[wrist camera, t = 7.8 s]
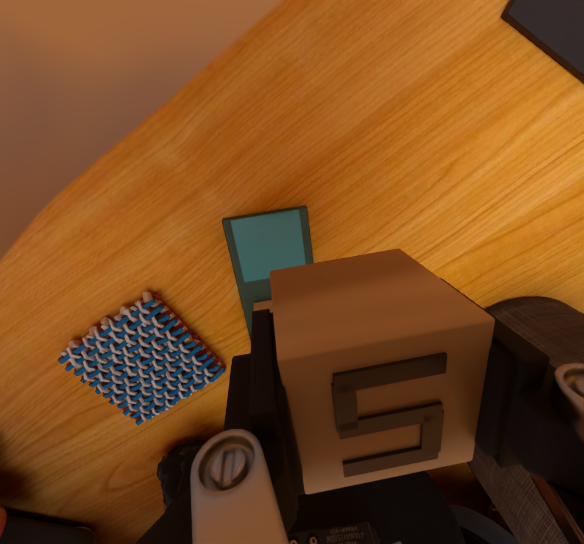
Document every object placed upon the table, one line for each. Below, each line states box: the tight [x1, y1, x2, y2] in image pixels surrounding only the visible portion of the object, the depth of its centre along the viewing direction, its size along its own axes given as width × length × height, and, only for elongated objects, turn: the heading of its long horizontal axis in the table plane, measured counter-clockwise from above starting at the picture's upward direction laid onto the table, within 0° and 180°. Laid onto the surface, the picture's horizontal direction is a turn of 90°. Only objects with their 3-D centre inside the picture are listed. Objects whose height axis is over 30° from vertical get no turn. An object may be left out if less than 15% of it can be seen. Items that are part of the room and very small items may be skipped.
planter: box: [467, 297, 584, 544], centre depth 25 cm, size 18×18×16 cm
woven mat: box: [58, 291, 226, 425], centre depth 26 cm, size 10×11×2 cm
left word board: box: [222, 206, 313, 340], centre depth 23 cm, size 13×6×5 cm, turn 8°
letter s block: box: [269, 249, 495, 494], centre depth 9 cm, size 4×4×5 cm
